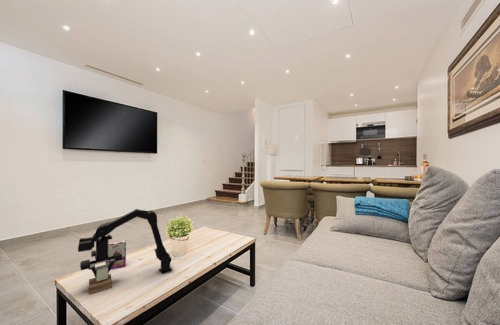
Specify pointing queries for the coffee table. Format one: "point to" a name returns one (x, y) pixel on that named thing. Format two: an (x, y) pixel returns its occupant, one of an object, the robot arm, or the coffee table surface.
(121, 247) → the candy bar box
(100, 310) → the coffee table surface
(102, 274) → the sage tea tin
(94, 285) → the walnut block
